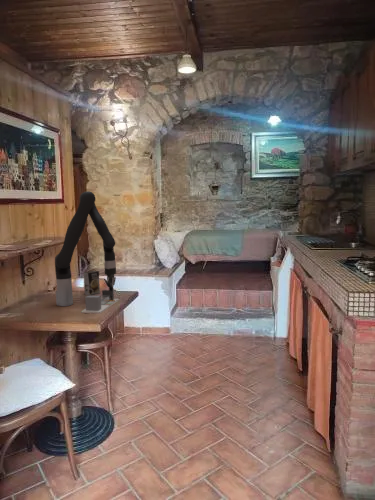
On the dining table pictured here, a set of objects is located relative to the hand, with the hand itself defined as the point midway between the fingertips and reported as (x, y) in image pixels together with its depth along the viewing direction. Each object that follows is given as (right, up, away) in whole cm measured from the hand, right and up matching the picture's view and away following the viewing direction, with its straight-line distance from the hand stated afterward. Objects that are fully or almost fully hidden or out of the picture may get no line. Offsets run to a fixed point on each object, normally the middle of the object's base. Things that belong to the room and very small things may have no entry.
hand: (111, 292), depth 251 cm
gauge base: (-3, -7, -17) cm, 18 cm away
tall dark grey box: (-1, -4, -11) cm, 12 cm away
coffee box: (-17, -3, +17) cm, 25 cm away
